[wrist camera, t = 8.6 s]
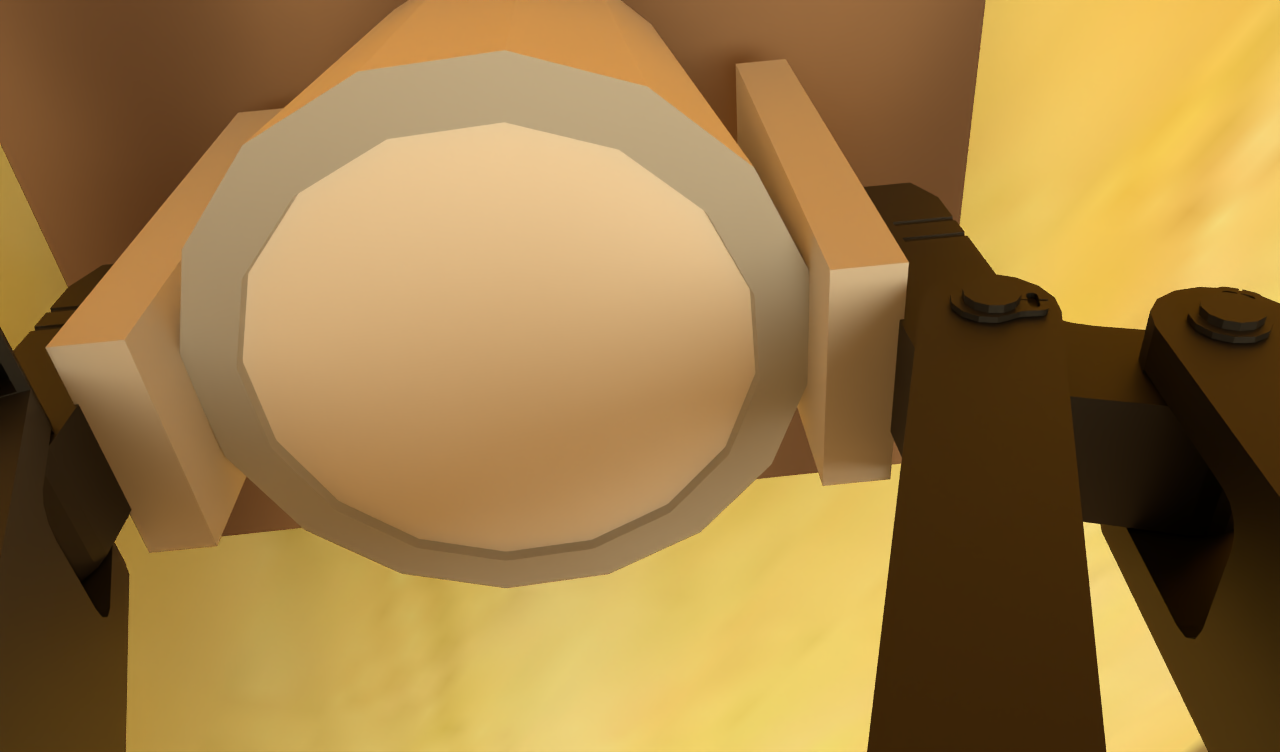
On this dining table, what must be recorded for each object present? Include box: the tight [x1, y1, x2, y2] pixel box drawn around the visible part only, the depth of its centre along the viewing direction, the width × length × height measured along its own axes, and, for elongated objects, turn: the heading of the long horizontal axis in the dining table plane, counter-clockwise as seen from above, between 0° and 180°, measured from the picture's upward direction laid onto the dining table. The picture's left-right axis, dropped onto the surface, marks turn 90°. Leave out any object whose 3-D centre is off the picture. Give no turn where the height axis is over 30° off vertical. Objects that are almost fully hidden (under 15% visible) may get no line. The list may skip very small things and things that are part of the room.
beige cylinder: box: [180, 0, 809, 588], centre depth 13 cm, size 7×7×7 cm
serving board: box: [0, 0, 985, 536], centre depth 17 cm, size 16×16×2 cm
